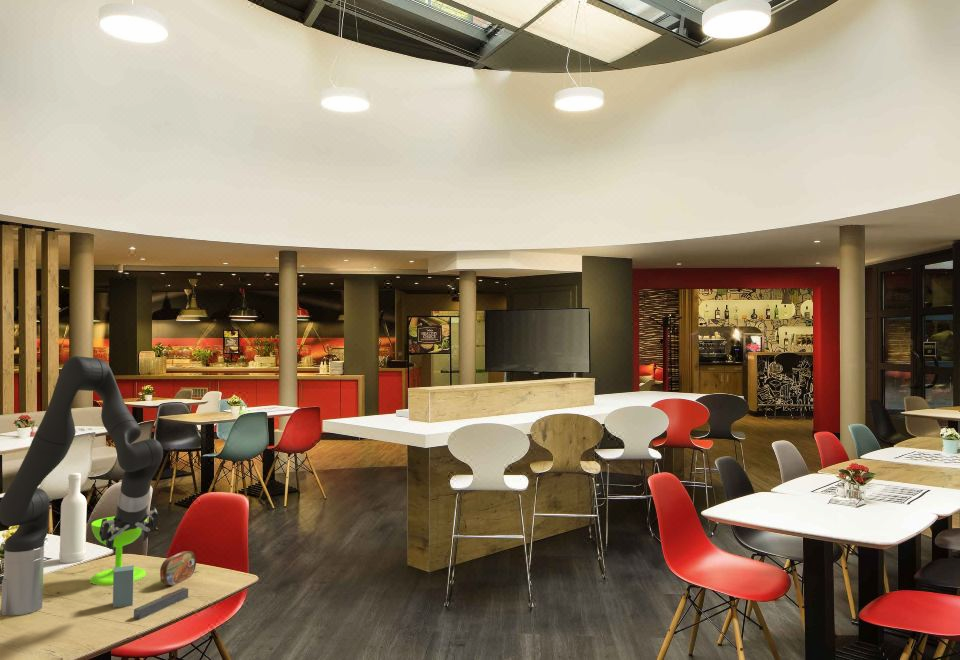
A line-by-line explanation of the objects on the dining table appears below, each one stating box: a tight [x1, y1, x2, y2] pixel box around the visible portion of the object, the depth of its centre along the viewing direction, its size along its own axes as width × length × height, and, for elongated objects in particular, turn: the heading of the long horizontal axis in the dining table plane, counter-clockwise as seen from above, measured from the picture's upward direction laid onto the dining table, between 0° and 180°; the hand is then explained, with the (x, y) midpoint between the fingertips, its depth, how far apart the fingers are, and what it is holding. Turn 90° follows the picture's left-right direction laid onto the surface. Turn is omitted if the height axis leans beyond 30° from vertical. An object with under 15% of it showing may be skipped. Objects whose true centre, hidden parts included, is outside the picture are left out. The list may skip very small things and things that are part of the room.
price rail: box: [133, 587, 189, 620], centre depth 191 cm, size 18×3×2 cm, turn 161°
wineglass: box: [89, 515, 148, 586], centre depth 217 cm, size 16×16×18 cm
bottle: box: [59, 472, 88, 564], centre depth 236 cm, size 8×8×30 cm
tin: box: [159, 550, 197, 587], centre depth 214 cm, size 15×3×8 cm, turn 168°
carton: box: [112, 564, 134, 609], centre depth 194 cm, size 5×4×10 cm
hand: (126, 542), depth 190 cm, fingers open, 8 cm apart
